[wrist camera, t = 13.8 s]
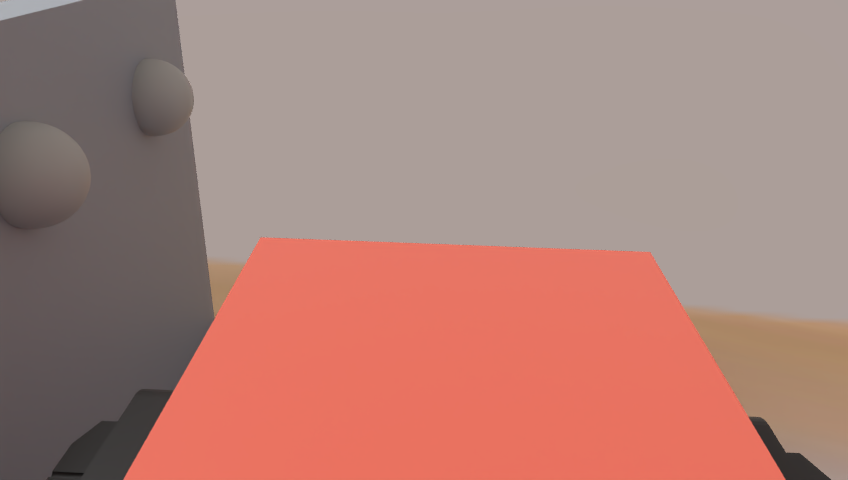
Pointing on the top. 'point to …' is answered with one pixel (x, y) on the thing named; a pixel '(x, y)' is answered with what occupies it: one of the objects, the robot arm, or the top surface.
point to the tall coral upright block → (451, 372)
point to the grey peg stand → (93, 220)
